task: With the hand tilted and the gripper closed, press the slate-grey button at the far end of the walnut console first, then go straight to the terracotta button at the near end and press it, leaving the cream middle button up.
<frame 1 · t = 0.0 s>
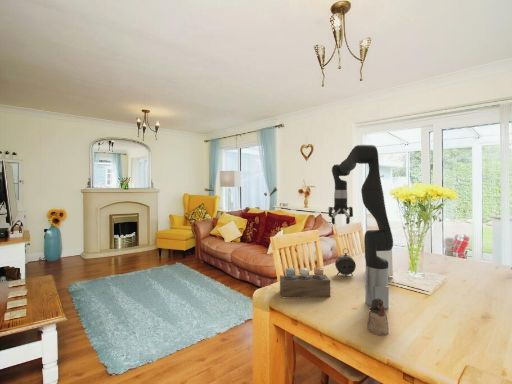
hand: (340, 223, 165), 29 cm above the table, tool pointing down, fingers open, 8 cm apart
cream button: (304, 271, 132), point 11 cm above the table, slide at 0.0 cm
terracotta button: (318, 271, 132), point 11 cm above the table, slide at 0.0 cm
slate button: (290, 271, 132), point 11 cm above the table, slide at 0.0 cm
button console: (304, 293, 133), on the table
milk: (379, 273, 162), on the table
alarm clock: (345, 276, 158), on the table
figurine: (377, 331, 99), on the table
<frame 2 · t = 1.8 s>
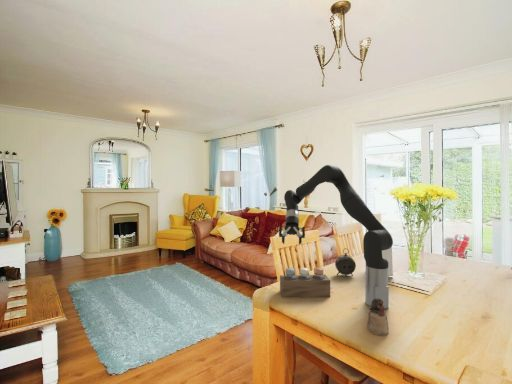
hand: (291, 243, 146), 22 cm above the table, tool tilted 45°, fingers open, 8 cm apart
nothing on the table moved.
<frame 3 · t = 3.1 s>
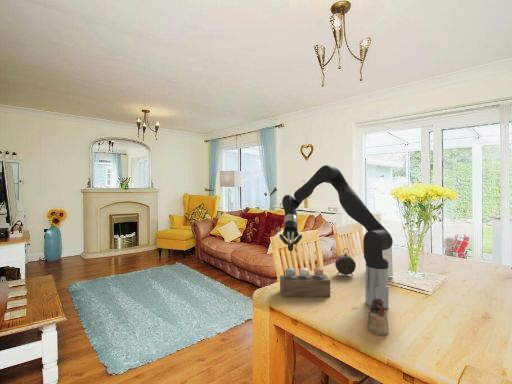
hand: (290, 250, 142), 19 cm above the table, tool tilted 45°, fingers closed
nothing on the table moved.
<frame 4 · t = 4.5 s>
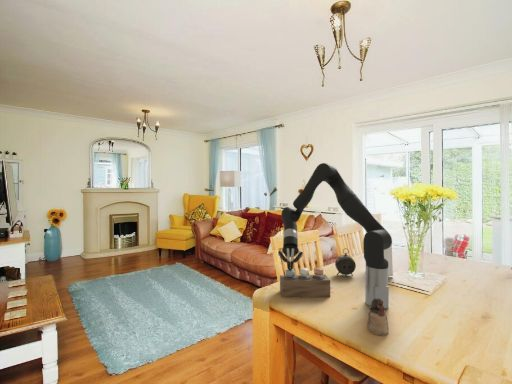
hand: (290, 269, 132), 12 cm above the table, tool tilted 45°, fingers closed
slate button: (290, 273, 132), point 10 cm above the table, slide at 0.6 cm, touching gripper
everything else where it was.
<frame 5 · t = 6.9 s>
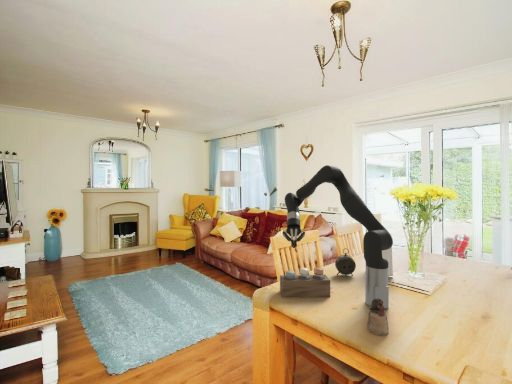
hand: (294, 247, 144), 20 cm above the table, tool tilted 45°, fingers closed
slate button: (290, 274, 132), point 10 cm above the table, slide at 1.4 cm
everything else where it was.
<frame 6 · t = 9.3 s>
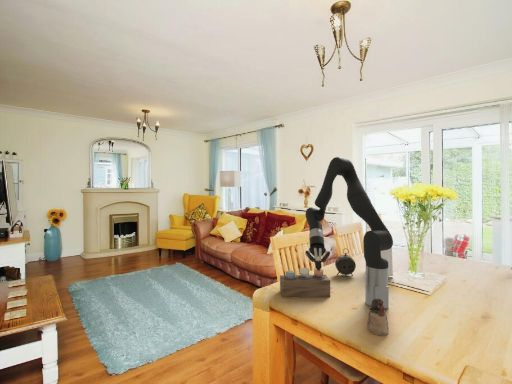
hand: (318, 269, 132), 12 cm above the table, tool tilted 45°, fingers closed
terracotta button: (318, 272, 132), point 10 cm above the table, slide at 0.6 cm, touching gripper
everything else where it was.
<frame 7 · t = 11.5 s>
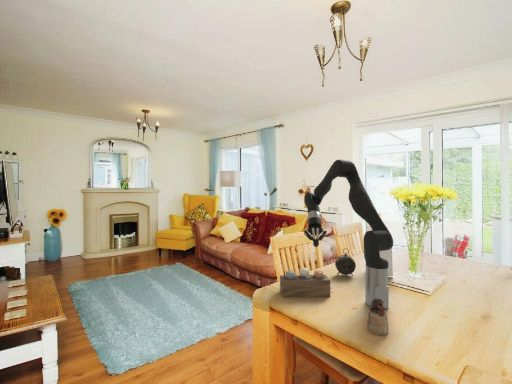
hand: (316, 246, 145), 20 cm above the table, tool tilted 45°, fingers closed
terracotta button: (318, 274, 133), point 10 cm above the table, slide at 1.4 cm
everything else where it was.
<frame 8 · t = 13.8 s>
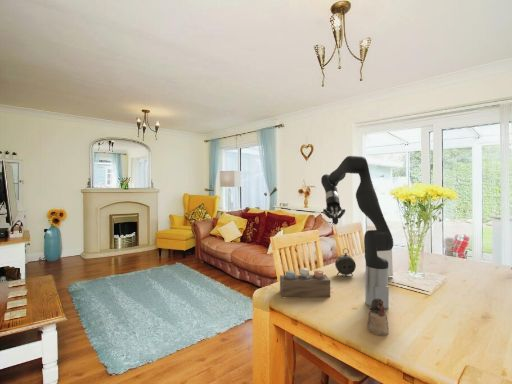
hand: (335, 223, 149), 32 cm above the table, tool tilted 45°, fingers closed
nothing on the table moved.
at the end: slate button slide at 1.4 cm; terracotta button slide at 1.4 cm; cream button slide at 0.0 cm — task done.
